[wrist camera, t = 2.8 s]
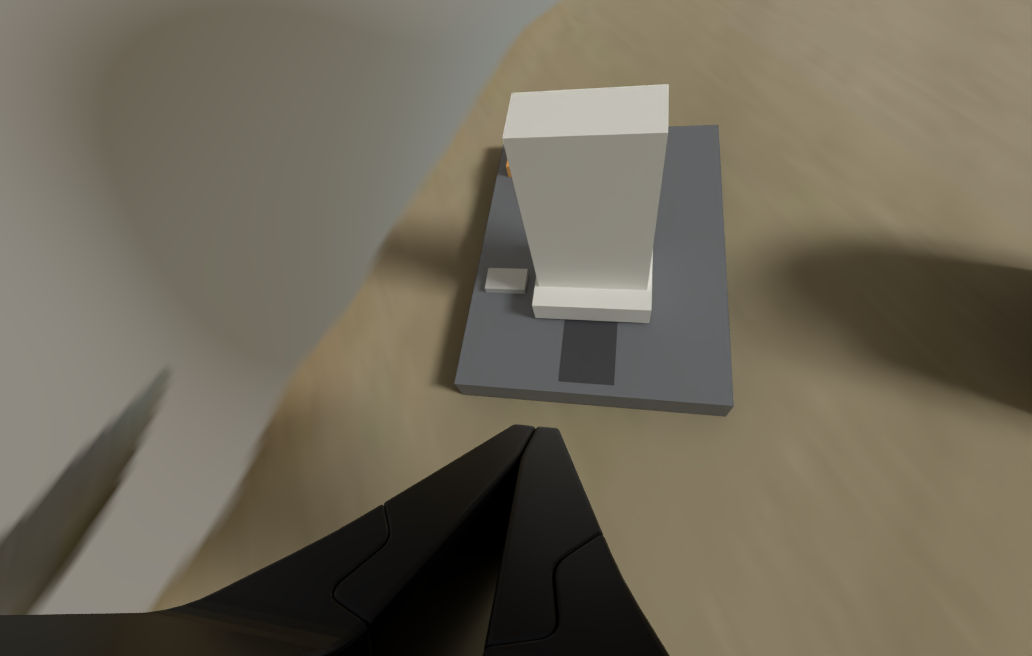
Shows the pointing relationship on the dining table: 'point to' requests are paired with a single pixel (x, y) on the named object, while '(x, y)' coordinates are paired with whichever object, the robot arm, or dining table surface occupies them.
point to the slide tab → (589, 196)
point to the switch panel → (606, 344)
